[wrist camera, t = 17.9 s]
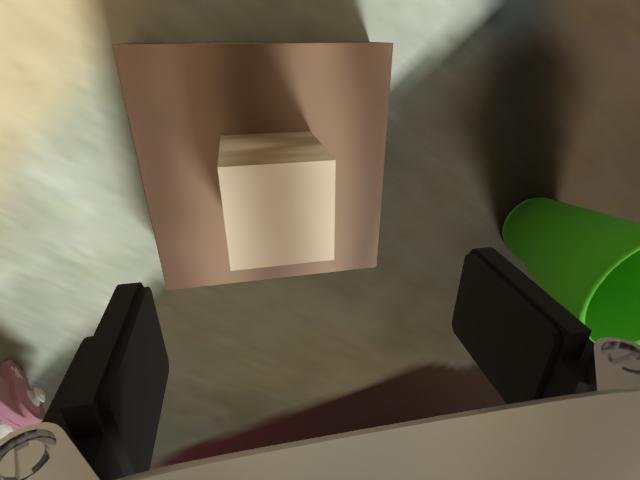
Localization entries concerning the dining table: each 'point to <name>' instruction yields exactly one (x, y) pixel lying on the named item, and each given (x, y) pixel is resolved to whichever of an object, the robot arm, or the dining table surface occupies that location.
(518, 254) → the cup
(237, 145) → the birch block
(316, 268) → the walnut block
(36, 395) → the video game controller
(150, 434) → the robot arm
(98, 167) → the dining table surface
